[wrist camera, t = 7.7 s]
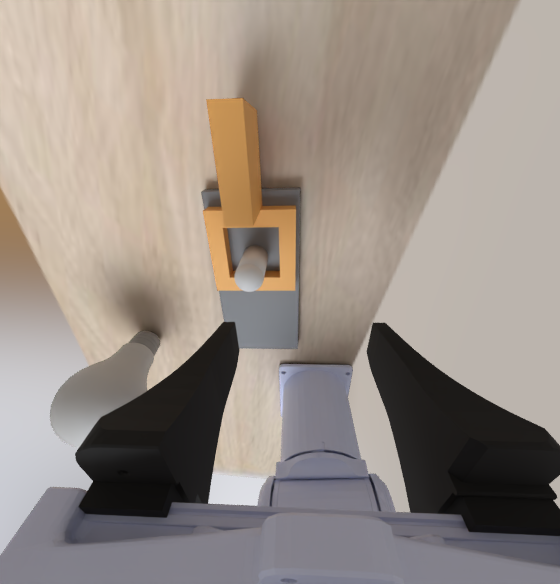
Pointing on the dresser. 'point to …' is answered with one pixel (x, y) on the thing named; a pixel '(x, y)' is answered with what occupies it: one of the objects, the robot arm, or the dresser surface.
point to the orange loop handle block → (244, 196)
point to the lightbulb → (102, 388)
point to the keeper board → (262, 305)
